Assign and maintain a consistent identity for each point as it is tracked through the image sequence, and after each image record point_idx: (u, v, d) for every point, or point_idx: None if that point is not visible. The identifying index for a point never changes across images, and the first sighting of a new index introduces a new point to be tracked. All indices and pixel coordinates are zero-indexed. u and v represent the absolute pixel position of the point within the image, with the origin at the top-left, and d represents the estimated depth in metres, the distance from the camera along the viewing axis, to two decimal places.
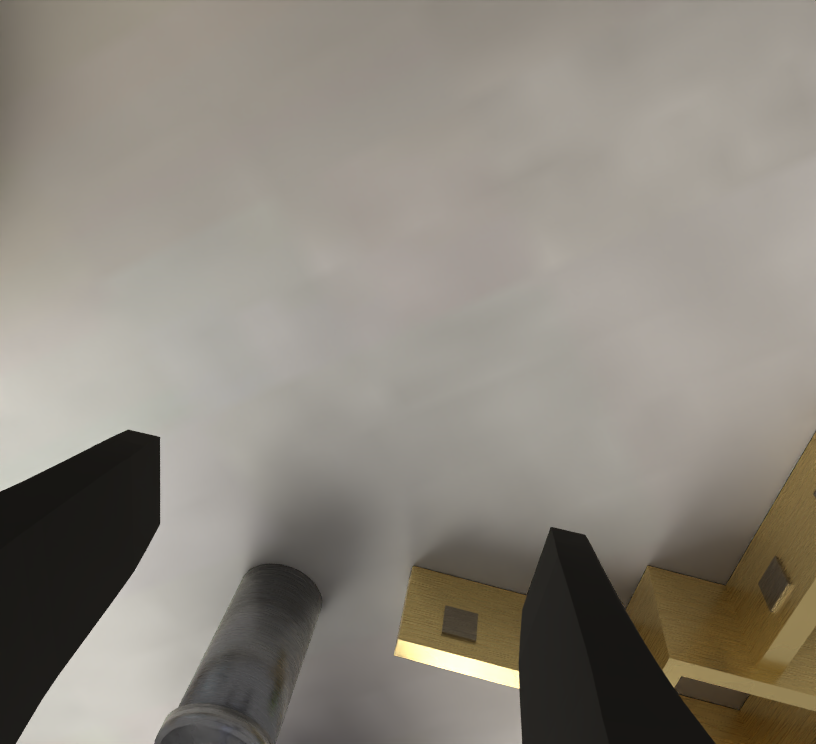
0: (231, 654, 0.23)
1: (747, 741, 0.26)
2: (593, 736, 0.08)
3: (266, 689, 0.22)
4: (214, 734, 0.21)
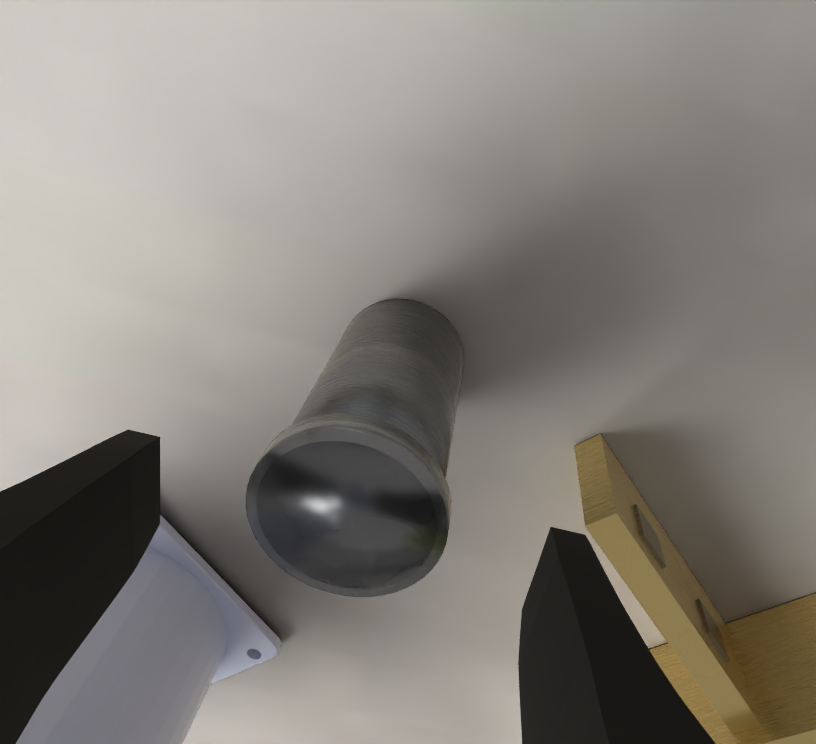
0: (420, 391, 0.14)
1: None
2: (594, 736, 0.08)
3: (446, 468, 0.14)
4: (405, 488, 0.12)
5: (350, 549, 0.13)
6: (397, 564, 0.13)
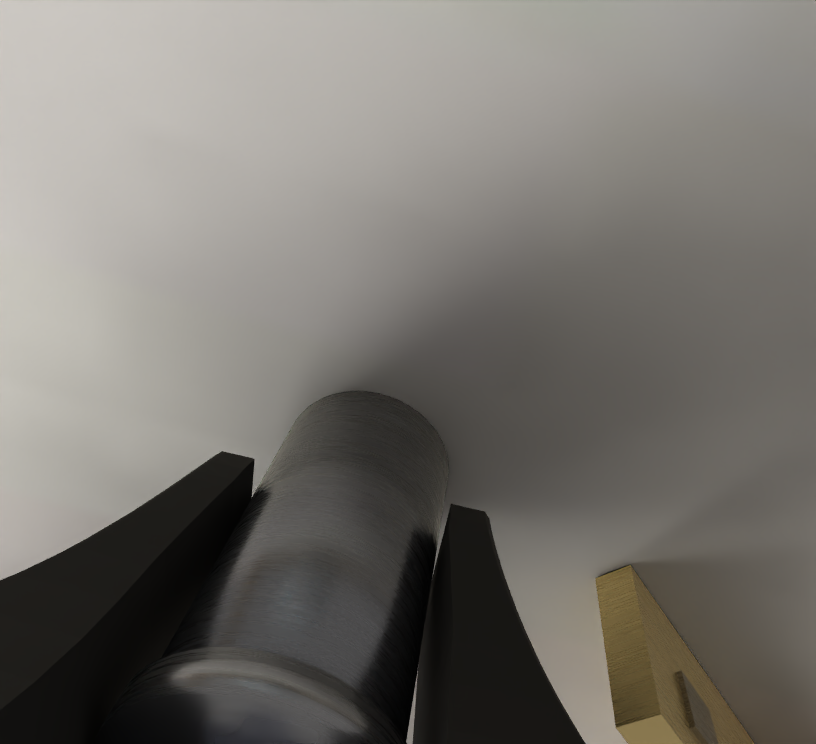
0: (374, 568, 0.09)
1: None
2: (443, 699, 0.08)
3: (414, 686, 0.09)
4: None
5: None
6: None
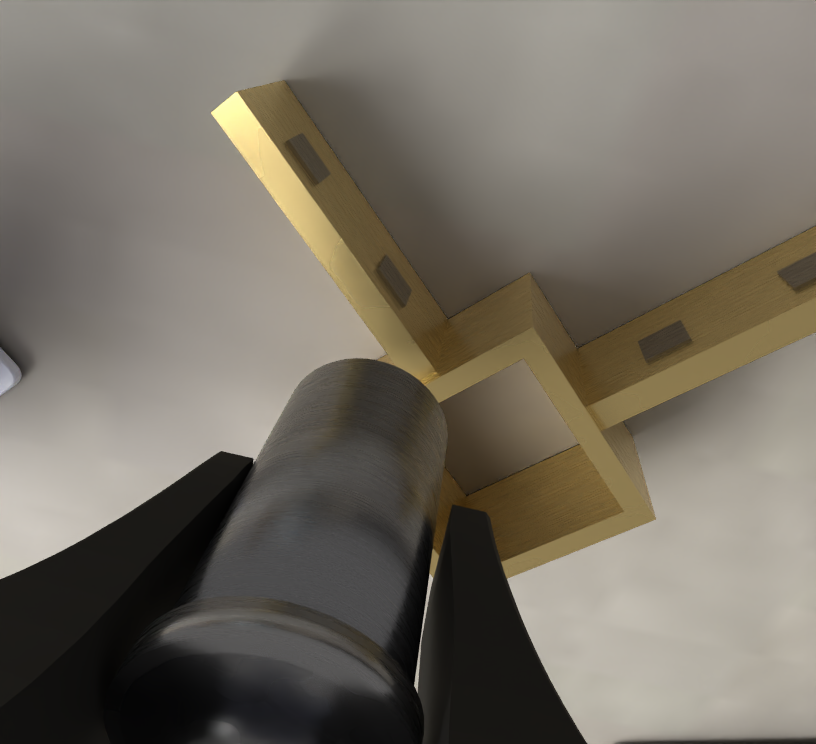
0: (367, 516, 0.10)
1: None
2: (446, 700, 0.08)
3: (418, 627, 0.09)
4: (339, 710, 0.07)
5: None
6: None
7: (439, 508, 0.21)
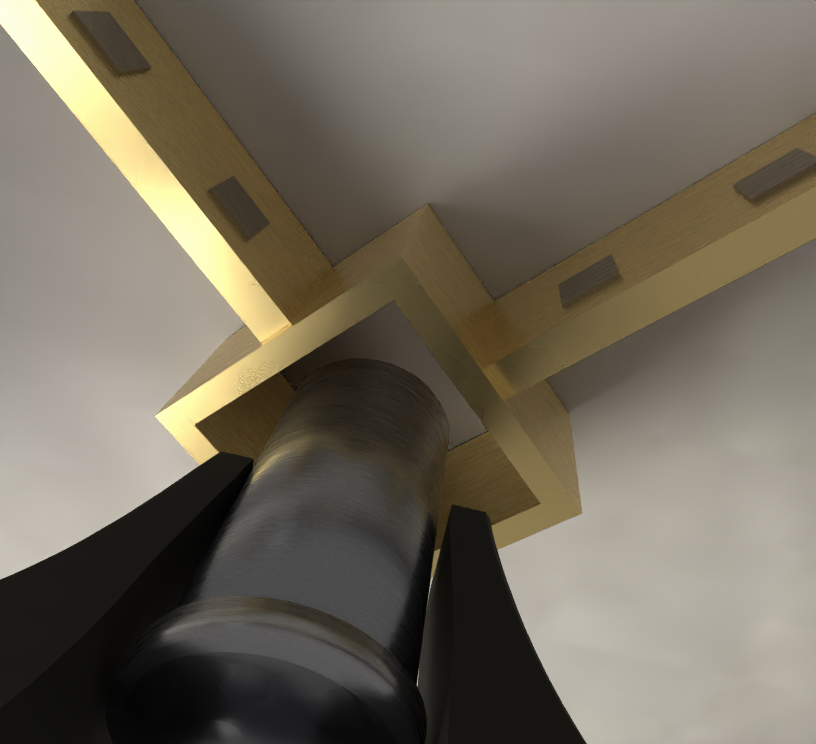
0: (368, 516, 0.10)
1: None
2: (445, 700, 0.08)
3: (420, 627, 0.09)
4: (341, 709, 0.07)
5: None
6: None
7: None
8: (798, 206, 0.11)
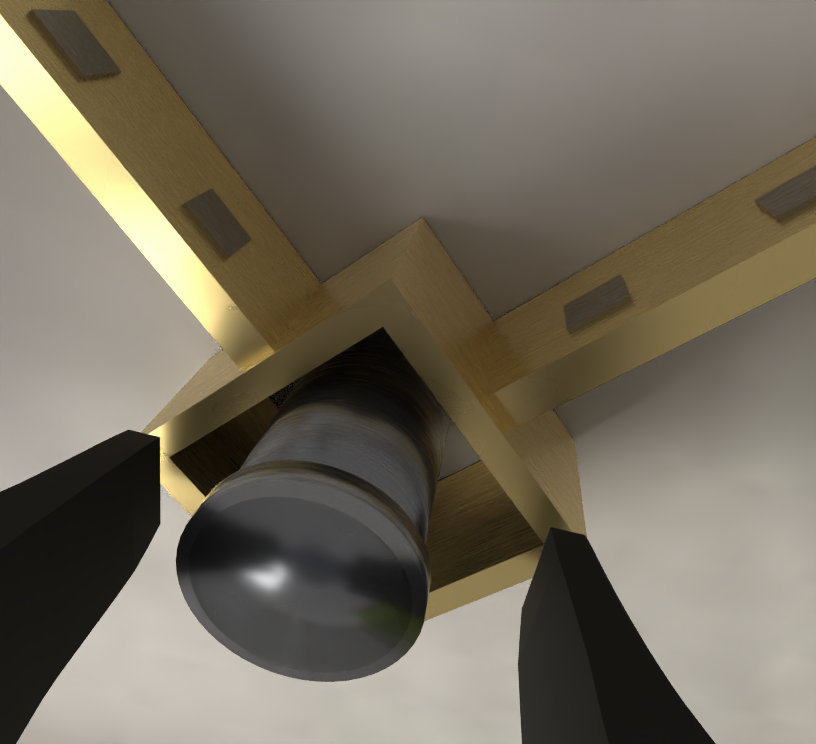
0: (386, 420, 0.12)
1: None
2: (593, 736, 0.08)
3: (427, 510, 0.11)
4: (363, 548, 0.10)
5: (312, 626, 0.10)
6: (372, 639, 0.10)
7: None
8: None
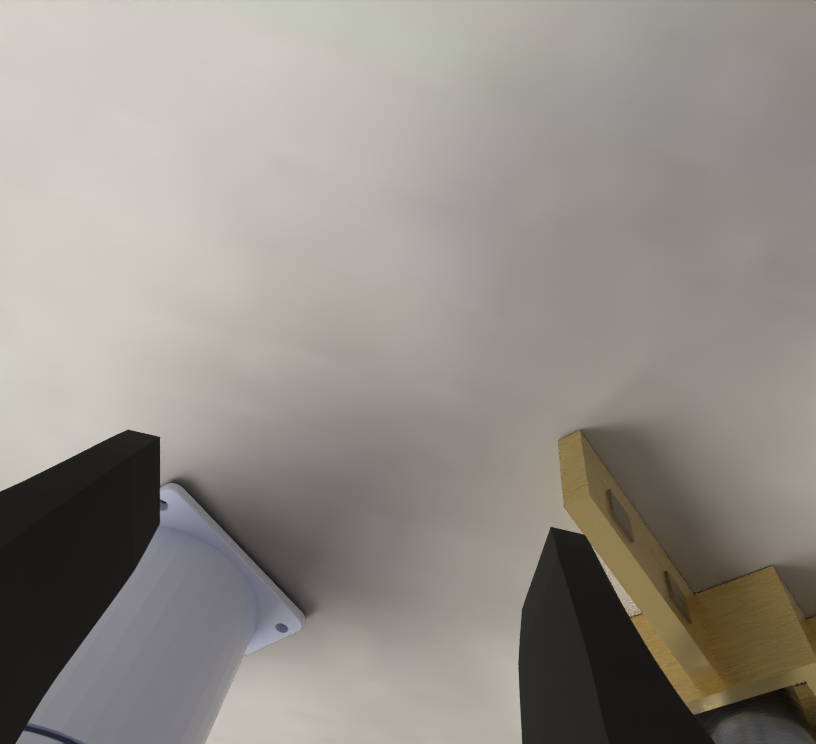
0: (800, 727, 0.21)
1: None
2: (592, 736, 0.08)
3: None
4: None
5: None
6: None
7: None
8: None
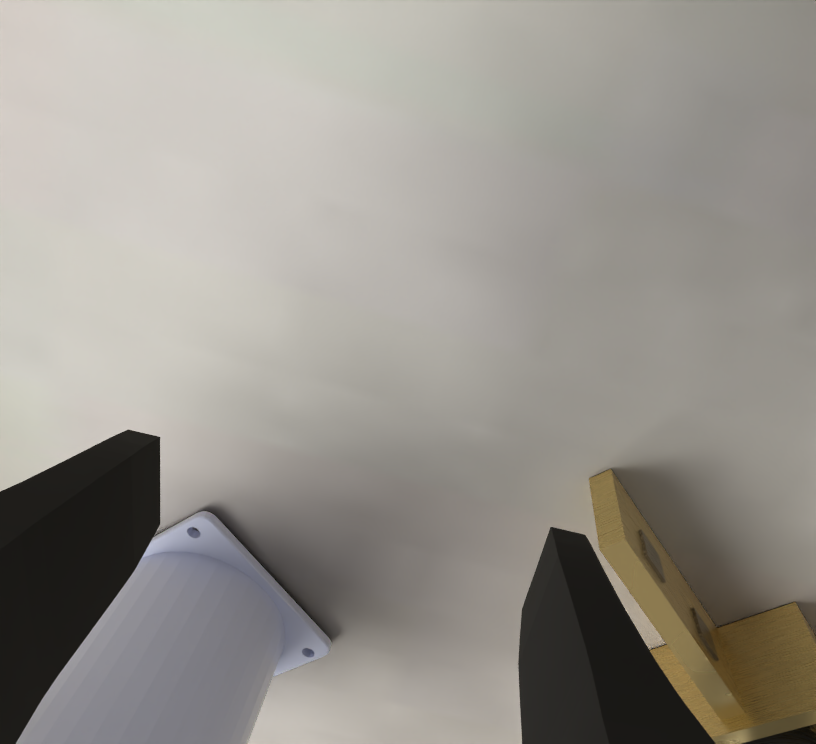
0: None
1: None
2: (593, 736, 0.08)
3: None
4: None
5: None
6: None
7: None
8: None
